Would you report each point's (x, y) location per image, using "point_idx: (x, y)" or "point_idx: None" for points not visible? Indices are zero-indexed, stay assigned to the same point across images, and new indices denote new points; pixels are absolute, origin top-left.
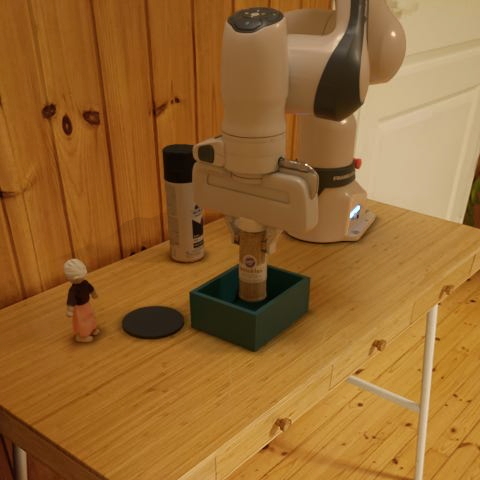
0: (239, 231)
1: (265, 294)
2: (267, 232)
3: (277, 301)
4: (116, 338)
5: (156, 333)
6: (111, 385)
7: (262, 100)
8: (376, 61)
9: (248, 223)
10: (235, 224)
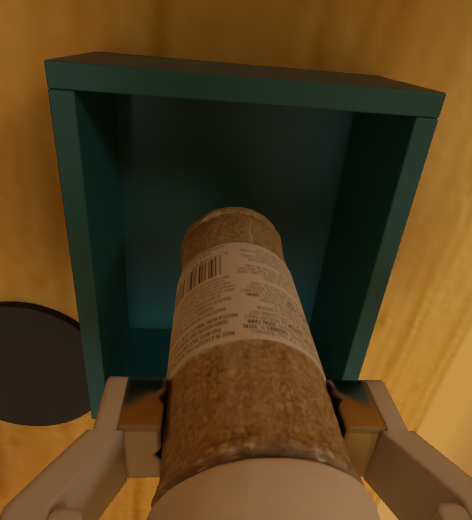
0: (126, 444)
1: (280, 246)
2: (349, 459)
3: (371, 330)
4: (23, 438)
5: (82, 403)
6: (148, 512)
7: None
8: None
9: None
10: (87, 495)
